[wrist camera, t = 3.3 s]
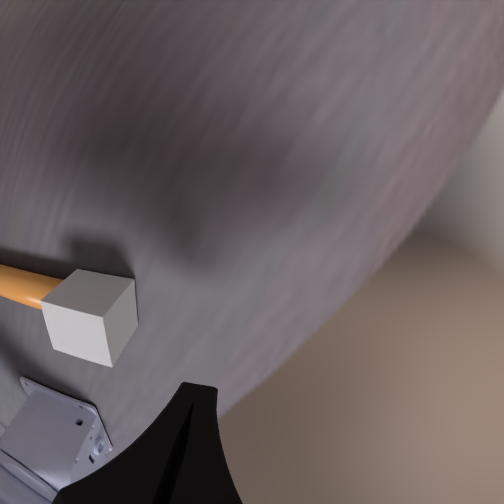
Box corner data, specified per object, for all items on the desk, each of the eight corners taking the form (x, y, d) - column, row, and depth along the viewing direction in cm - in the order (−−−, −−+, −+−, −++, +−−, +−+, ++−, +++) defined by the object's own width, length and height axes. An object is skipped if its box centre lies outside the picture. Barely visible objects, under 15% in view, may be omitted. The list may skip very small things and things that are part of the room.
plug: (133, 272, 16) (91, 321, 11) (138, 330, 17) (106, 385, 13) (-45, 237, 16) (-83, 258, 11) (-36, 278, 17) (-70, 302, 13)
